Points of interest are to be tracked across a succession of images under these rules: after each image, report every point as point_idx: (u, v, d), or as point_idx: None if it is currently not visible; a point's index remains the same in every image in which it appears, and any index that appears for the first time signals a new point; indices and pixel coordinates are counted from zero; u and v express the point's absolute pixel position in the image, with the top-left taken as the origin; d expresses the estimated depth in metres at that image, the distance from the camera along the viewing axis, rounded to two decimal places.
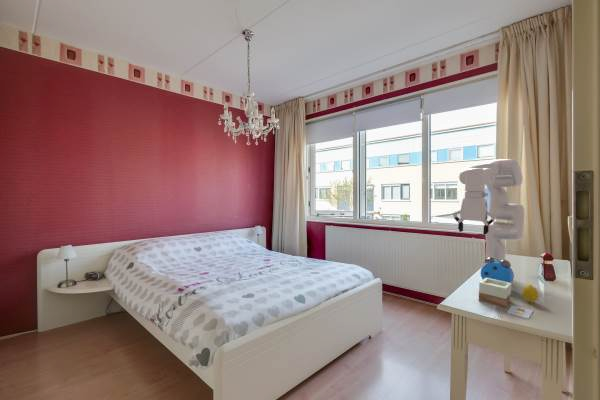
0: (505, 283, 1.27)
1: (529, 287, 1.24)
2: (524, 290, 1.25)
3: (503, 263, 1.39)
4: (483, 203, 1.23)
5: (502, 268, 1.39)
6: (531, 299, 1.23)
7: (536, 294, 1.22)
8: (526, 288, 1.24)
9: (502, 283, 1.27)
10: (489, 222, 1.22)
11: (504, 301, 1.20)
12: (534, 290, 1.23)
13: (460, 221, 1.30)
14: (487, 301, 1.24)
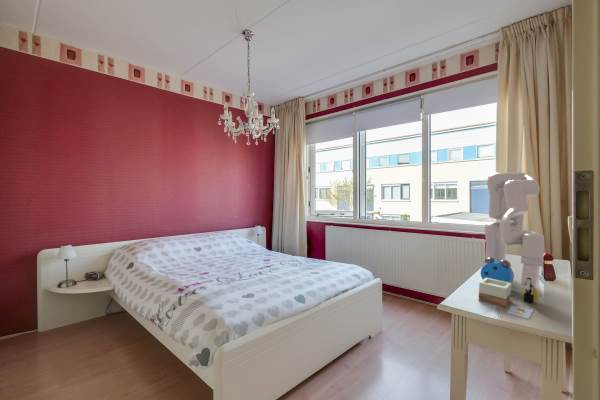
0: (505, 283, 1.27)
1: None
2: (524, 290, 1.25)
3: (503, 263, 1.39)
4: None
5: (502, 268, 1.39)
6: None
7: (536, 294, 1.22)
8: None
9: (502, 283, 1.27)
10: None
11: (504, 301, 1.20)
12: (534, 290, 1.23)
13: None
14: (487, 301, 1.24)
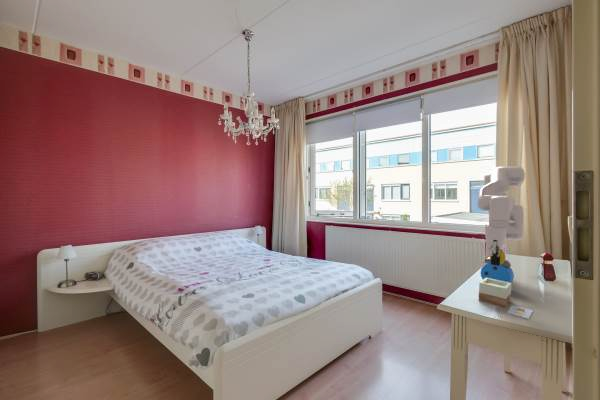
0: (505, 283, 1.27)
1: None
2: None
3: (503, 263, 1.39)
4: None
5: (502, 268, 1.39)
6: None
7: (503, 256, 1.23)
8: None
9: (502, 283, 1.27)
10: (502, 250, 1.28)
11: (504, 301, 1.20)
12: (501, 253, 1.23)
13: (499, 254, 1.22)
14: (487, 301, 1.24)
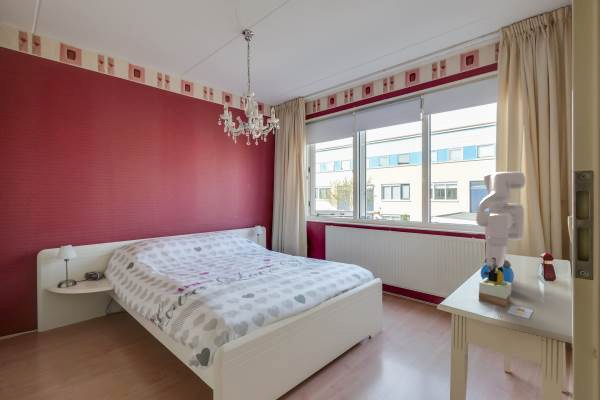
0: (505, 283, 1.27)
1: None
2: None
3: None
4: None
5: None
6: (496, 282, 1.24)
7: (501, 277, 1.23)
8: None
9: (502, 283, 1.27)
10: None
11: (504, 301, 1.20)
12: (499, 273, 1.24)
13: (496, 271, 1.21)
14: (487, 301, 1.24)
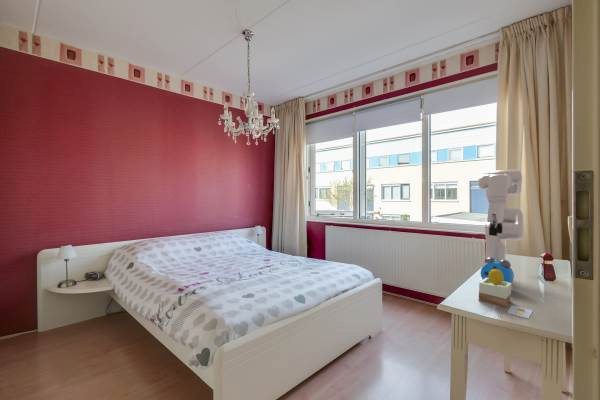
0: (505, 283, 1.27)
1: (495, 270, 1.25)
2: (490, 273, 1.26)
3: (503, 263, 1.39)
4: None
5: (502, 268, 1.39)
6: (496, 282, 1.24)
7: (501, 277, 1.23)
8: (492, 271, 1.26)
9: (502, 283, 1.27)
10: (501, 222, 1.41)
11: (504, 301, 1.20)
12: (499, 273, 1.24)
13: (496, 225, 1.33)
14: (487, 301, 1.24)
